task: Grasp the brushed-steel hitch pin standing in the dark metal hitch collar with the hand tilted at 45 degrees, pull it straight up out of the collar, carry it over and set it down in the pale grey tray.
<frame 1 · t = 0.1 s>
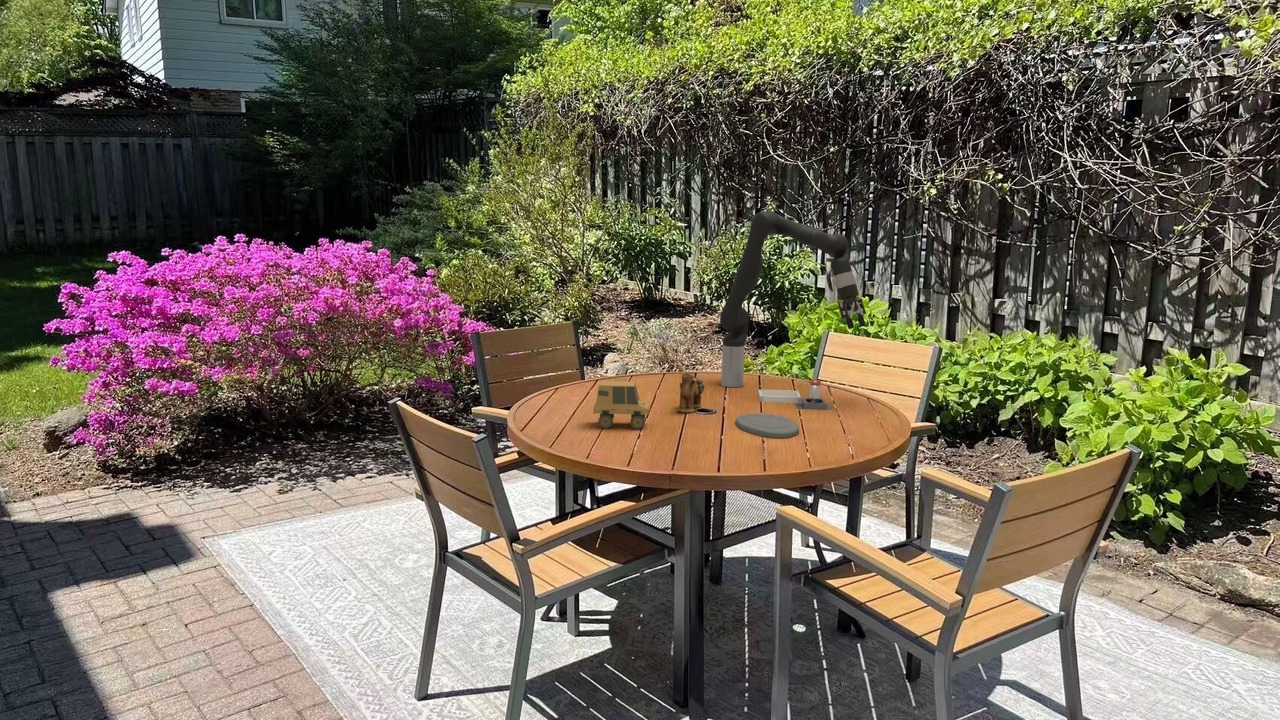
hand: (857, 327, 328), 31 cm above the table, tool tilted 20°, fingers open, 8 cm apart
figurine: (690, 410, 329), on the table
hitch: (813, 408, 334), on the table
toy car: (621, 426, 305), on the table
tray: (779, 400, 346), on the table
pin: (813, 406, 334), point 1 cm above the table, touching hitch
frisbee: (768, 429, 306), on the table
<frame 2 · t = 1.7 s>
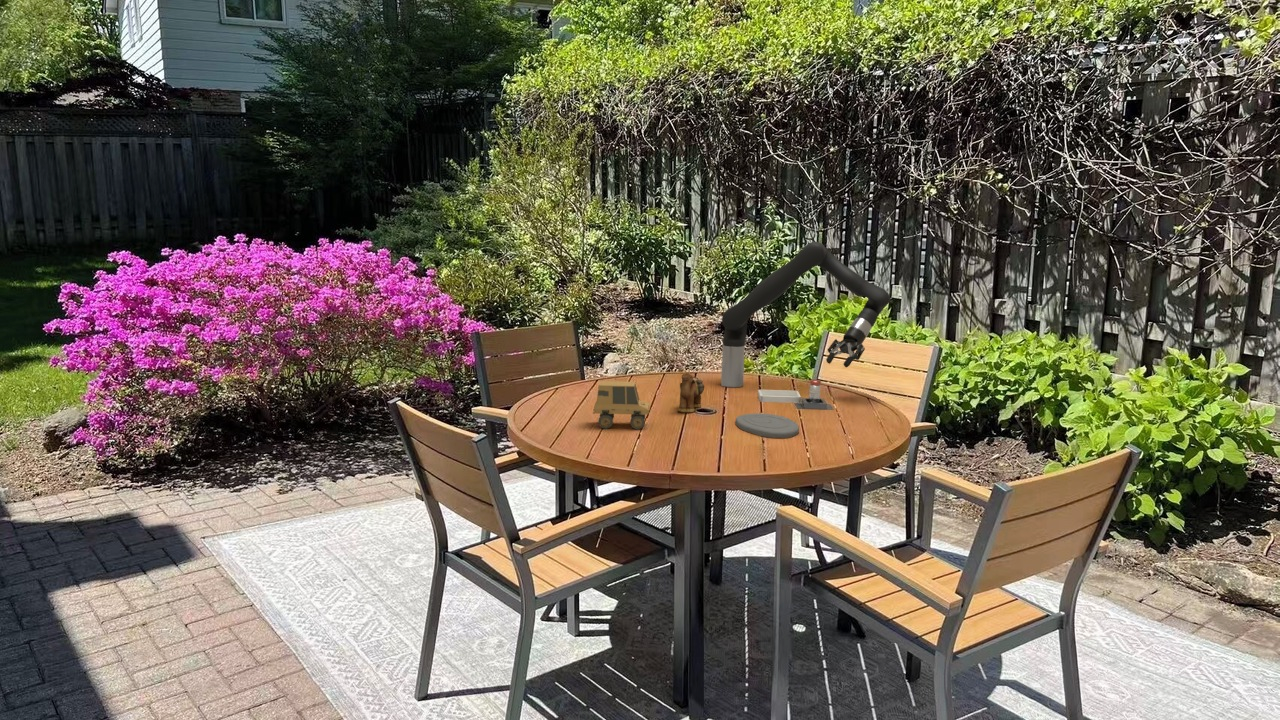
hand: (836, 364, 338), 16 cm above the table, tool tilted 45°, fingers open, 8 cm apart
nothing on the table moved.
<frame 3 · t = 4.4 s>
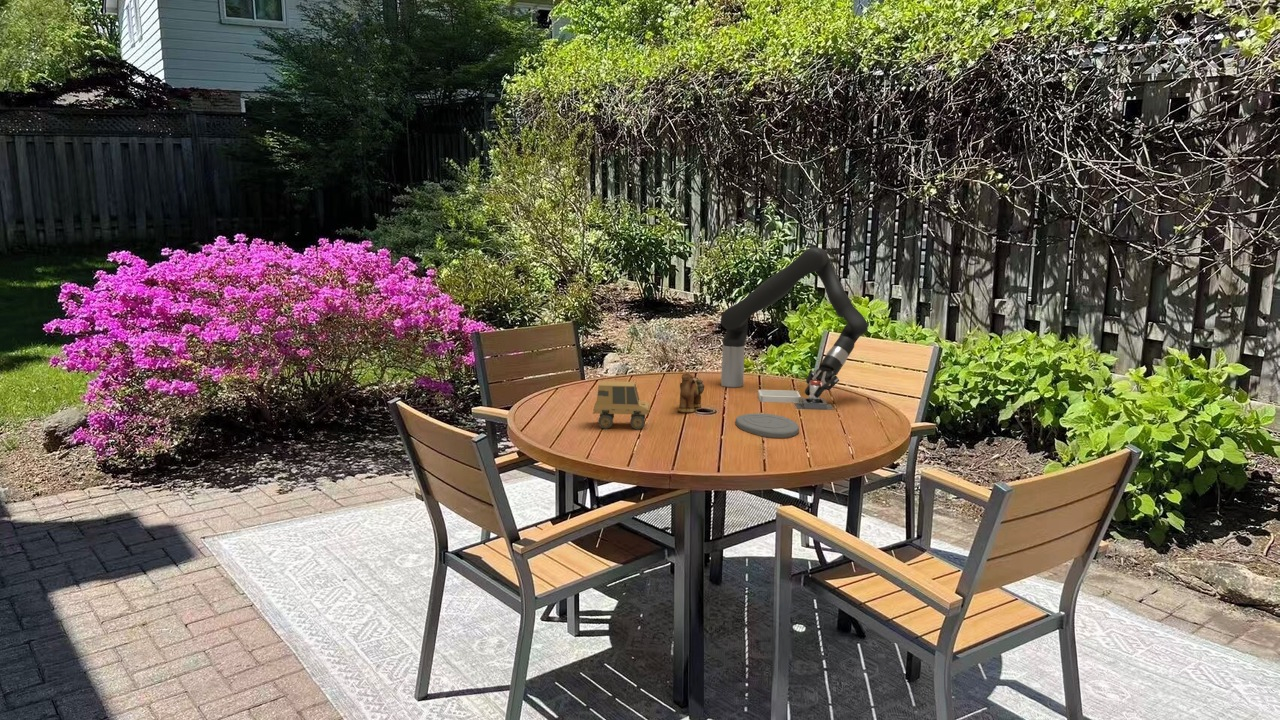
hand: (811, 395, 332), 5 cm above the table, tool tilted 45°, fingers closed on pin, 4 cm apart
pin: (813, 406, 334), point 1 cm above the table, touching gripper, hitch
everything else where it was.
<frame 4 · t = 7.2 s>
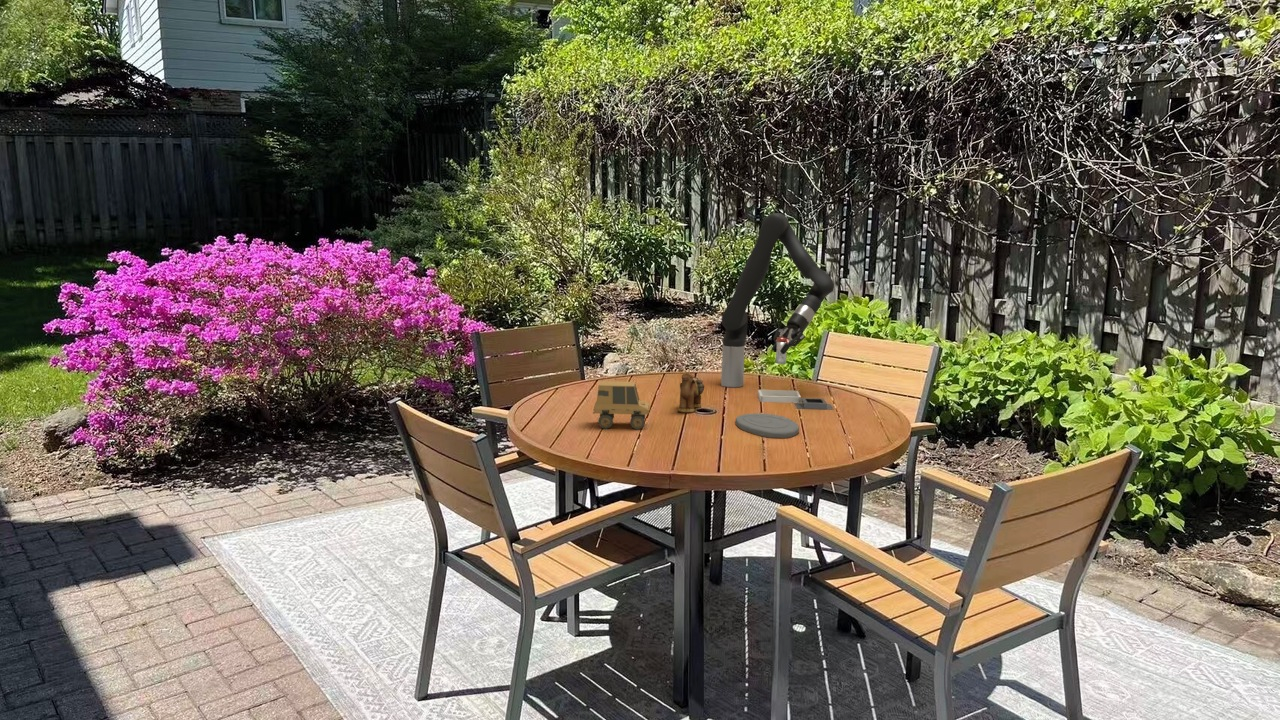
hand: (777, 351, 341), 20 cm above the table, tool tilted 45°, fingers closed on pin, 4 cm apart
pin: (780, 362, 343), point 15 cm above the table, touching gripper
everything else where it was.
when the fingers open (6 cm above the table, at t = 10.1 s): pin stays where it is, resting on tray.
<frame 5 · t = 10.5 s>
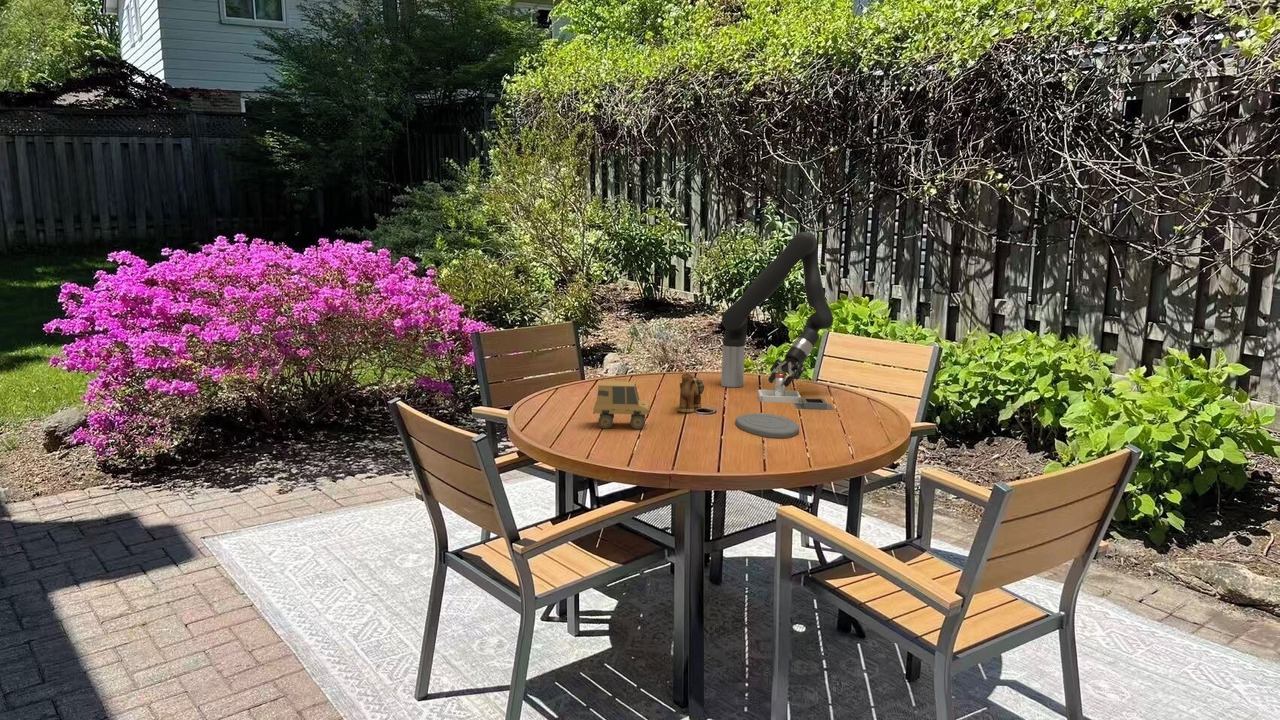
hand: (777, 383, 344), 7 cm above the table, tool tilted 45°, fingers open, 7 cm apart
pin: (779, 398, 346), point 1 cm above the table, touching tray
everything else where it was.
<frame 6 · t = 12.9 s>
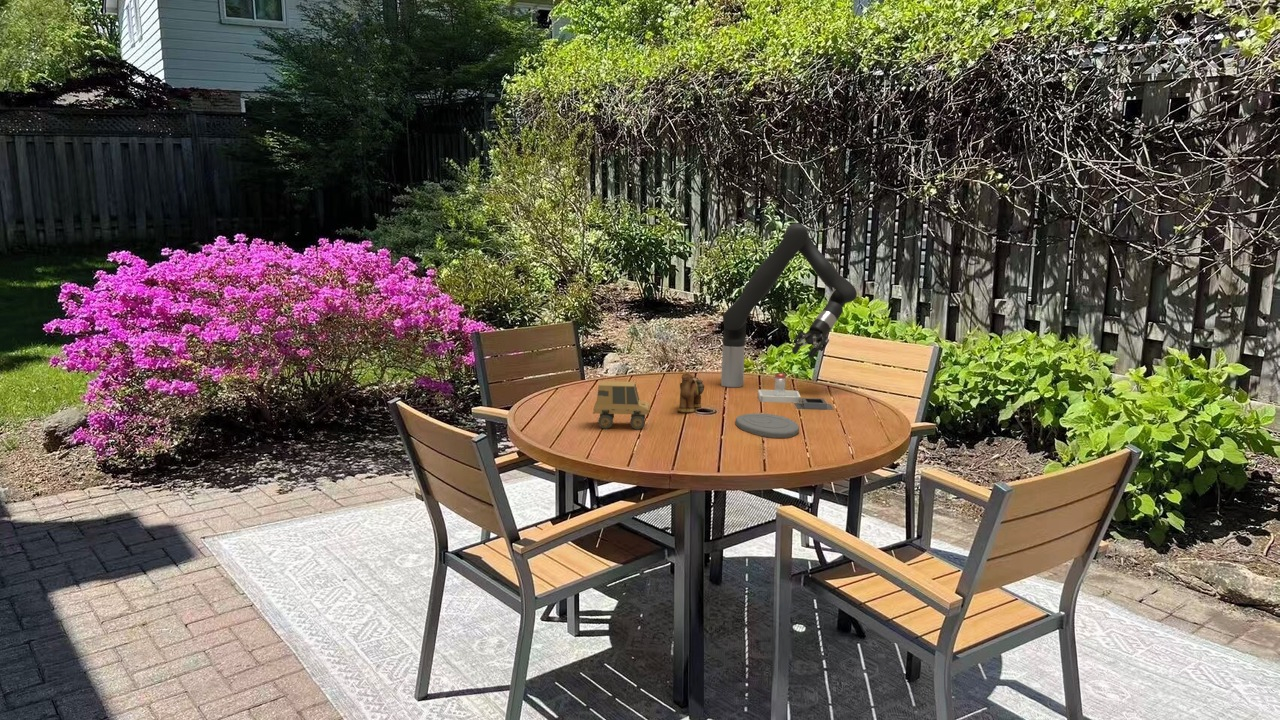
hand: (801, 354, 350), 17 cm above the table, tool tilted 45°, fingers open, 8 cm apart
nothing on the table moved.
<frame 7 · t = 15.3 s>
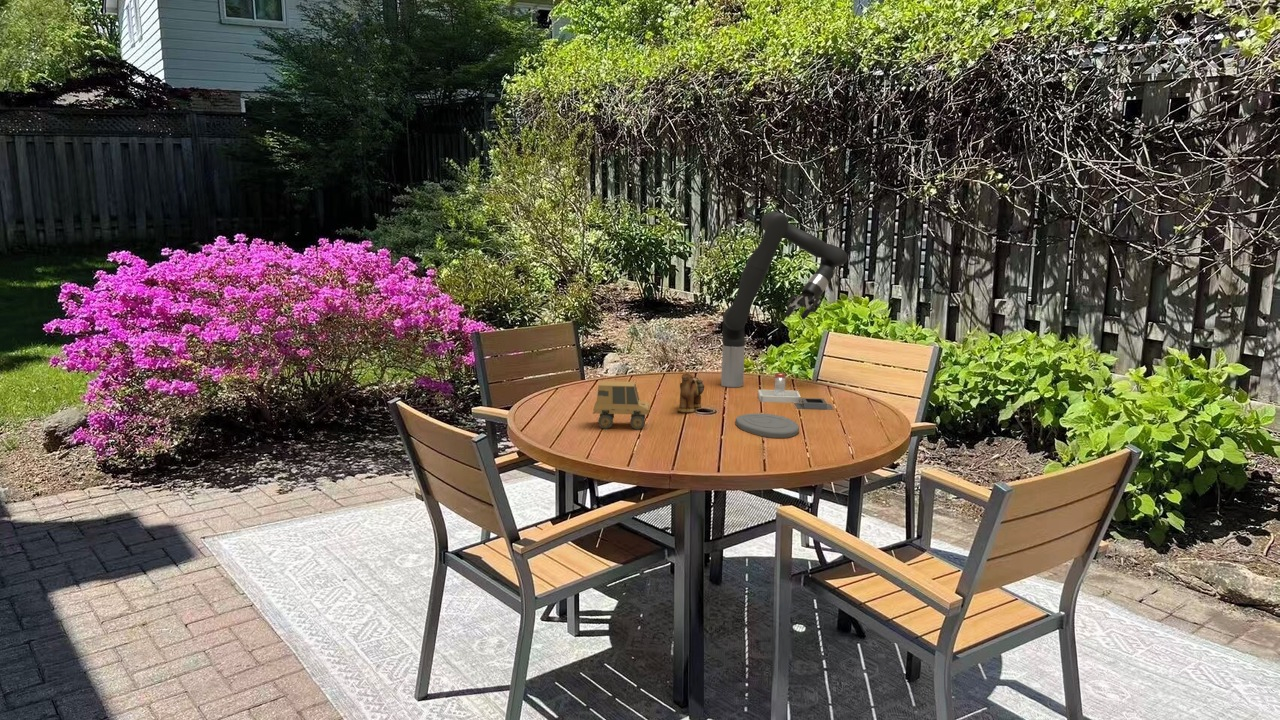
hand: (794, 316, 359), 31 cm above the table, tool tilted 45°, fingers open, 8 cm apart
nothing on the table moved.
at the end: pin inside the target area on the tray (0.1 cm from its centre), point 0.9 cm above the tray's base; pin moved 16.3 cm from its start; the gripper is holding nothing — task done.
